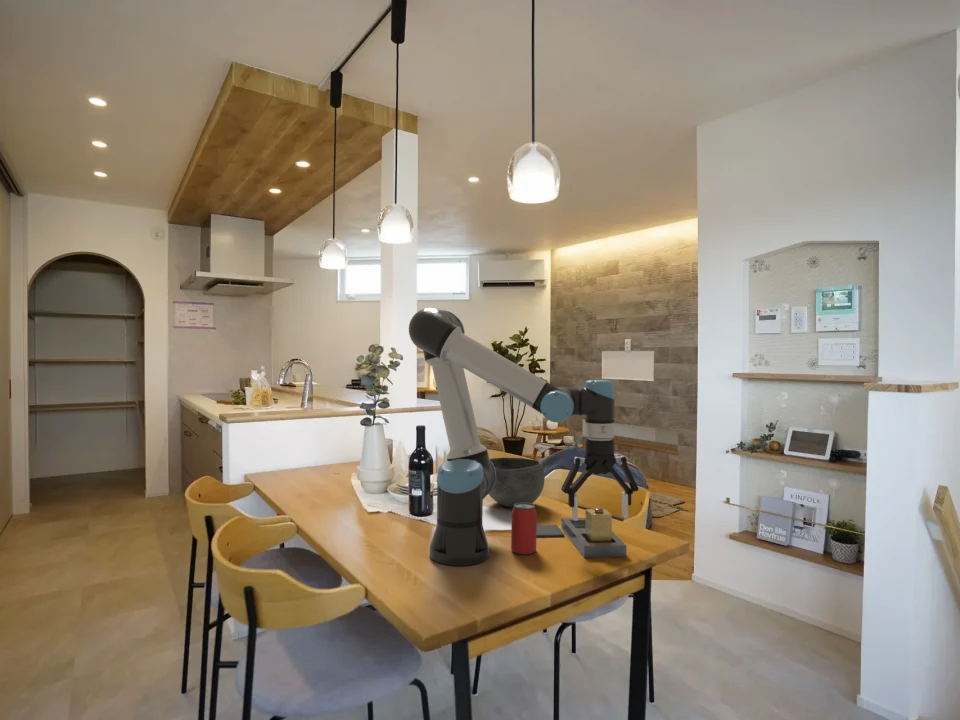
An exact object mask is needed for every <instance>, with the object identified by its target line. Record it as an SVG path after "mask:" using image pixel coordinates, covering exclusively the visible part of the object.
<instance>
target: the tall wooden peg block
mask: <svg viewBox="0 0 960 720" xmlns="http://www.w3.org/2000/svg"><path fill="white" fill-rule="evenodd" d="M585 518H586V526H585V539H586V541H587V542H588V543H611V541H612V532H613V531H612V528H613V524H612V523H613V514H612V513H611V512H610V511H608V510H607V509H606V508H603V507H594V508H586V509H585Z"/></svg>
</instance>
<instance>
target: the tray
mask: <svg viewBox="0 0 960 720" xmlns="http://www.w3.org/2000/svg"><path fill="white" fill-rule="evenodd" d="M560 523H561V525H560V528H561V529H560V530H561V531H562V532H563V533H564V535H566V537H568V539H569V540H570V542H571V543H572V544H573V546H574V547H575V548H576V549H577V551H578V552H579V553H580V555H581V556H582V557H583V558H584V559H599V558H600V559H601V558H603V559H604V558H606V557H610V558H627V544H626V543H625V542H624V541H622V539H621V538H619V537H618V536H617V535H616V534H615V533H614V532H613V531H612V541H611V543H588V542H587V541H586V539H585V526H586V517H578V521H575V520H574V519H573V518H572V517H561V518H560ZM606 559H607V558H606Z"/></svg>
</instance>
